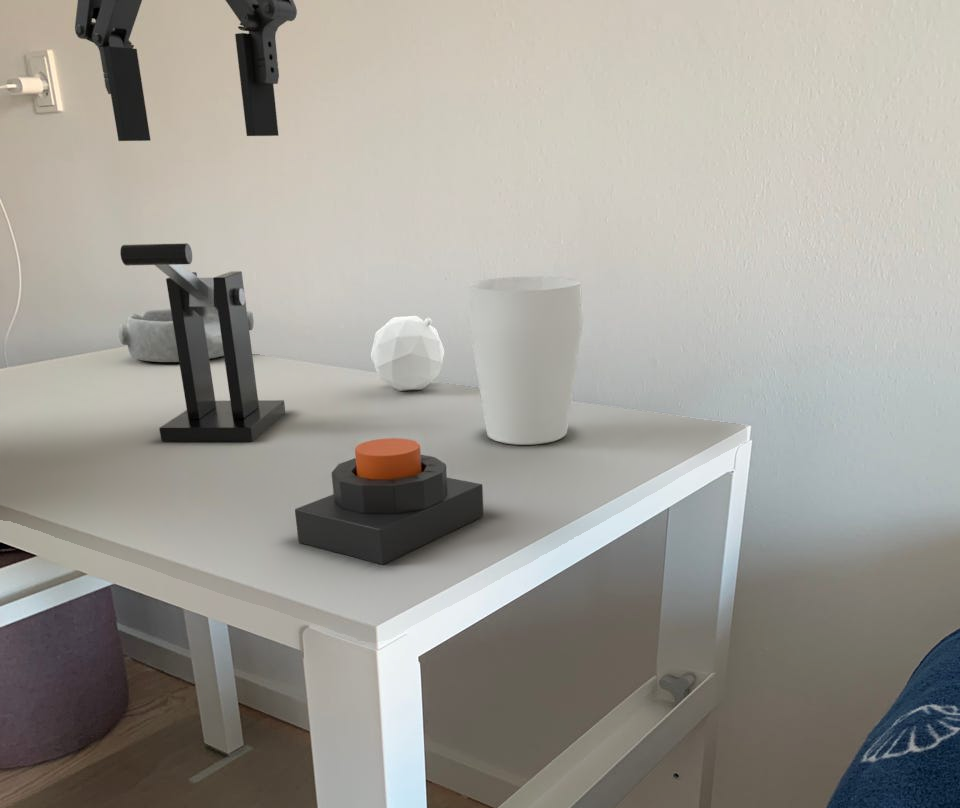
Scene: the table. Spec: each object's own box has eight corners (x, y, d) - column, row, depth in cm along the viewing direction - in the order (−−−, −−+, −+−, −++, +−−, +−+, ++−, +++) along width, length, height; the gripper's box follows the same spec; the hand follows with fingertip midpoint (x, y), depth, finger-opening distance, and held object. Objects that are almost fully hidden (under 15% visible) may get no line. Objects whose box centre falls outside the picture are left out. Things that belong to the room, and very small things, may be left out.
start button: (392, 487, 60) (390, 459, 59) (343, 477, 62) (341, 449, 61) (434, 471, 63) (433, 443, 62) (386, 461, 65) (384, 435, 64)
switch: (184, 266, 73) (185, 233, 73) (119, 268, 74) (120, 235, 74) (242, 316, 85) (242, 287, 85) (185, 317, 86) (186, 288, 86)
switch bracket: (252, 441, 84) (231, 281, 79) (161, 441, 85) (133, 283, 79) (285, 413, 93) (268, 267, 87) (202, 413, 94) (180, 268, 88)
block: (383, 565, 58) (378, 499, 57) (298, 542, 62) (290, 480, 60) (483, 516, 65) (482, 456, 64) (402, 498, 69) (398, 442, 67)
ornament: (415, 376, 106) (455, 315, 101) (423, 416, 101) (466, 354, 96) (356, 348, 102) (394, 283, 98) (361, 388, 97) (402, 322, 93)
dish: (265, 344, 127) (260, 303, 124) (215, 366, 115) (209, 321, 112) (162, 343, 130) (155, 303, 128) (102, 364, 118) (94, 320, 115)
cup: (456, 445, 81) (450, 290, 76) (493, 418, 89) (490, 275, 83) (564, 453, 78) (565, 291, 73) (593, 424, 86) (596, 276, 80)
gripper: (327, -229, 66) (353, 133, 75) (71, -165, 77) (121, 142, 87) (250, -263, 60) (289, 133, 69) (-15, -189, 72) (49, 143, 81)
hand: (196, 139), depth 78 cm, fingers open, 13 cm apart
